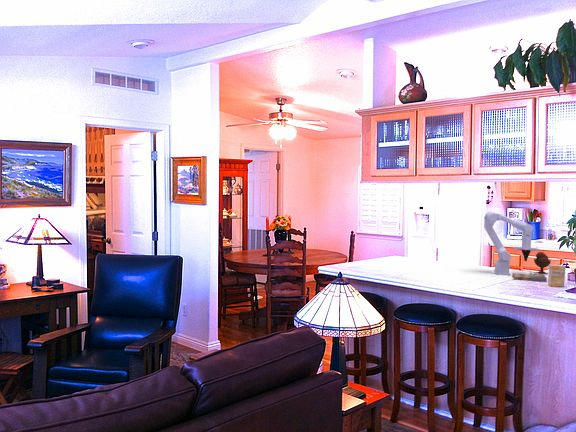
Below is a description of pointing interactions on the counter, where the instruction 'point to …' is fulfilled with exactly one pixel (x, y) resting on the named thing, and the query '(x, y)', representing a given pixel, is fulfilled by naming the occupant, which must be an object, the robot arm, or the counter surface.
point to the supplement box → (556, 275)
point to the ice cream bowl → (542, 261)
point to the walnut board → (521, 277)
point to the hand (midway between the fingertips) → (525, 261)
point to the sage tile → (531, 274)
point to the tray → (539, 278)
